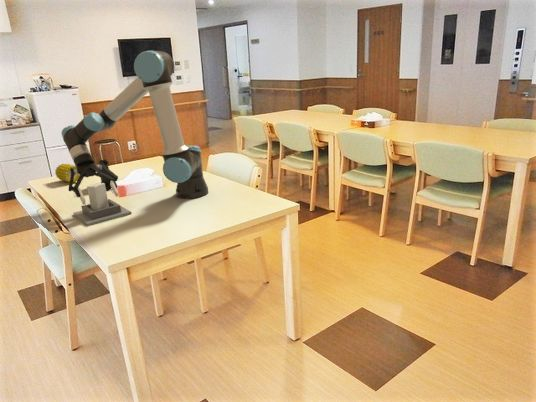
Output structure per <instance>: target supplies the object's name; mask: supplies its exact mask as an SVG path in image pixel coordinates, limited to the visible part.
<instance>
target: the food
mask: <svg viewBox="0 0 536 402" xmlns="http://www.w3.org/2000/svg"><path fill="white" fill-rule="evenodd" d="M71 168H73V169H77V168H76V166H75V164H70V163H61V164H58V166H57V167H55V174H54V175H55V176H56V178H58V179H59V180H61V181H64V182H68V183H70V177H71V175H70V169H71ZM79 176H80V174H79V173H77V172H76V174H75V175H74V179H73V183H76V182H77V180H78V178H79Z"/></svg>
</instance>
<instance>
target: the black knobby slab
mask: <svg viewBox="0 0 536 402" xmlns="http://www.w3.org/2000/svg"><path fill="white" fill-rule="evenodd" d="M100 163H103V164H104V165H105V167H107V168H108V169H109V170H110V168H109V165H108V163H109V161H108V160H107V159H106V158H105V159H100V160H99V162H98V164H97V165H99V164H100ZM97 169H99V168H97ZM99 170H100V169H99ZM100 171H101V172H103V171H102V170H100ZM103 173H104V172H103ZM105 174H106V173H105ZM100 183H105V188H106V191H111V190H110V189H111V186H110V182H108V181H106V180H105V179H103V178H101V177H100Z"/></svg>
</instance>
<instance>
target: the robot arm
mask: <svg viewBox="0 0 536 402" xmlns="http://www.w3.org/2000/svg"><path fill="white" fill-rule="evenodd" d="M133 70H134V73H135V75H136V78H134V80H133V81H132V82H131V83H129V84H128V85H127V86H126V87H125V88H124V89H123V90H122V91H121V92H120V93H119V94H117V96H116V97H115V98H113V100H112V101H110V103H108V104H107V106H105V107H104V108H103V109H102V110H101V111H100V112H99V113H97V112H93V111H92V112H89V113H88V114H87V115H85V116H84V117H83V118H82V119H81V120H80V122H78V123H77V124H76V125H74V124H73V125H67V126H66V127H63V128H62V130H61V137H62V139H63V143H65V147H66V148H67V150H68V152H69V154H70V157H71V158H72V161H73V163H74V164H73V165H74V166H76V168H77V169H73V168H71V169H70V175H71V177H70V182H68V183H69V184H68V190H67V191H69V192H72V191H73V193H74V194H75V196H76V198H80V201H81V203H82V206H83V205H86V198H85V196H84V194H83V192H82V190H81V187H80V185H81V184H82V182H83V179H84V178H90V177H94V176H96V177H99V178H100V179H101V178H103V179H105V180H106V181H108V182H110V186H111V188H112V192H113V194H114V196H115V197H118V196H119V191H118V184H117V181H118V179H119V175H117V174H115V173H114V172H113V171H112V170H111V169H110V168H109V167H108V168H109V169H108V168H107V167H105V165H104V164H103V163H100V164H99V163H98V164H99V165H98V164H96V162H95V161H94V158H93V155H92V154H91V152H90V150H89V148H88V146H87V144H86V143H87V142H88V141H89V140H90V139H91V138H92V137H93V136H95V135H96V134H98V133H101V132H104V131H105V132H106V130H107V131H108V130H110V129H112V128H113V127H115V125H116V123H117V121H118V120H119V119H121V118H122V117H123V116H124V115H126V113H127V112H128V111H129V110H131V109H132V108H133V106H136V104H137V103H139V101H140V100H142V99H143V98H144V97H145V96H146V95H147V94H149V98H150V101H151V104H152V108H153V111H154V115H155V119H156V123H157V126H158V130H159V133H160V137H161V141H162V145H163V148H164V149H163V151H162V153H161V154H162V158H163V162H164V163H163V165H162V172H163V175H164V177H165V178H166V179H167V180H168V181H170V182H172V183H175V184H176V189H175V196H176V197H178V198H180V199H195V198H200V197H201V198H202V197H204V196H207V194H209V186H208V184H207V183H206V180H205V177H204V172H203V162H202V160H203V159H202V150H201V146H199V145H187V144H185V141H184V137H183V134H182V129H181V127H180V126H181V125H180V122H179V118H178V114H177V110H176V106H175V103H174V99H173V95H172V91H171V86H172V84H173V80H172V77H171V76H172V75H173V74H174V71H175V63H174V60H173V58H172V57H171V55H170V54H169V53H168V52H166V51H163V50H145V51H142V52H140V53H139V54H138V55H137V56H136V58H135V59H134V62H133ZM97 168H99V169H100V170H102V171H103V172H104V173H103V172H101V171H100V170H99V169H97ZM76 172H77V173H79V174H80V176H79V178H78V180H77V181H76V182H75V184H74V182H73V179H74V175H75V174H76ZM105 173H106V174H105ZM73 184H74V186H73Z"/></svg>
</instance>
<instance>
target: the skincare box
mask: <svg viewBox="0 0 536 402" xmlns="http://www.w3.org/2000/svg"><path fill="white" fill-rule="evenodd" d="M86 189H87V195H88V198H89V199H88V200H89V204H90V205H91V210H93V211H95V210H99V209H103V208H107V207H109V204H108V194H107V190H106V188H105V183H101V182H95V183H93V184H90V185H87V186H86Z"/></svg>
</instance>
